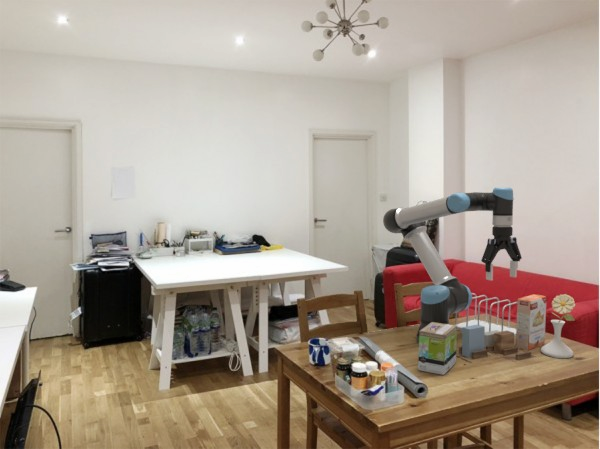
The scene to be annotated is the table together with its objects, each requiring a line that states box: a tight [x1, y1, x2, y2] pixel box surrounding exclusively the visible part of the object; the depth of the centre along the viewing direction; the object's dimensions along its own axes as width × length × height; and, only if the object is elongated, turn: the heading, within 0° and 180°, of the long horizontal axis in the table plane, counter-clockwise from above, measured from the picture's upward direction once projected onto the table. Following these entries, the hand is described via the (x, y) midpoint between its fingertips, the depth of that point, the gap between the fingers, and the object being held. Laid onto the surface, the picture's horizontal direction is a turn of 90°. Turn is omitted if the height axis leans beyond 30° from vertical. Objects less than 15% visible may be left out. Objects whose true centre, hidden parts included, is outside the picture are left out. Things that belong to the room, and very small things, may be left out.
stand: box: [456, 346, 491, 363], centre depth 194 cm, size 8×10×4 cm
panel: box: [461, 325, 485, 358], centre depth 194 cm, size 4×8×11 cm, turn 117°
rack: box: [486, 345, 537, 363], centre depth 198 cm, size 20×12×3 cm, turn 27°
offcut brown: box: [494, 331, 515, 354], centre depth 197 cm, size 4×7×8 cm, turn 117°
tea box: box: [417, 322, 458, 376], centre depth 184 cm, size 15×10×15 cm, turn 148°
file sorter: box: [454, 292, 517, 338], centre depth 228 cm, size 25×17×16 cm
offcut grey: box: [484, 330, 501, 349], centre depth 203 cm, size 4×9×6 cm, turn 117°
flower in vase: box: [540, 293, 576, 359], centre depth 193 cm, size 13×11×25 cm
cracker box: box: [515, 293, 547, 351], centre depth 205 cm, size 14×6×21 cm, turn 130°
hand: (501, 278), depth 203 cm, fingers open, 13 cm apart
